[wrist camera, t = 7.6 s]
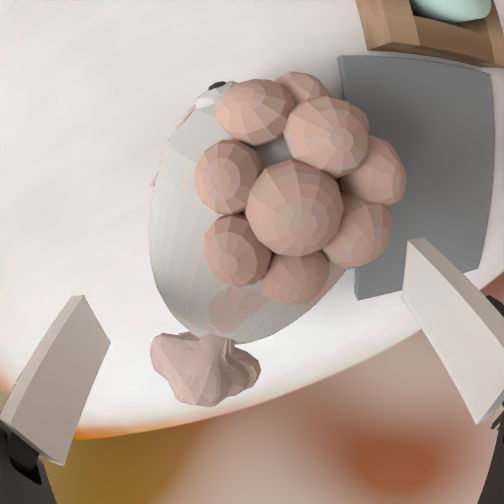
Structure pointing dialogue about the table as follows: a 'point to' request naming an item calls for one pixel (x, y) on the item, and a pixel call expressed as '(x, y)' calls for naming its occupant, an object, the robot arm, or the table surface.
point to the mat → (427, 157)
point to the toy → (260, 222)
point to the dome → (451, 9)
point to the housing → (431, 34)
